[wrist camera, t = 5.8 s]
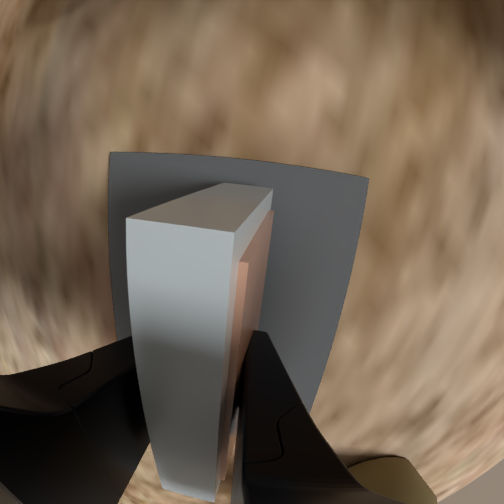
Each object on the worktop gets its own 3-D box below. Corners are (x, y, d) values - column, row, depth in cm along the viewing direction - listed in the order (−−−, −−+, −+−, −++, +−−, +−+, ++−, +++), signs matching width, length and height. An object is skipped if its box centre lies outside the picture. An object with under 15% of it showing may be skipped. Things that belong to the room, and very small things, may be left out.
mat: (366, 177, 10) (369, 178, 10) (297, 438, 14) (297, 443, 14) (115, 152, 11) (110, 152, 11) (132, 401, 16) (129, 405, 15)
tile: (250, 382, 12) (219, 503, 6) (210, 374, 12) (162, 488, 7) (278, 189, 9) (246, 234, 4) (224, 182, 10) (126, 218, 4)
